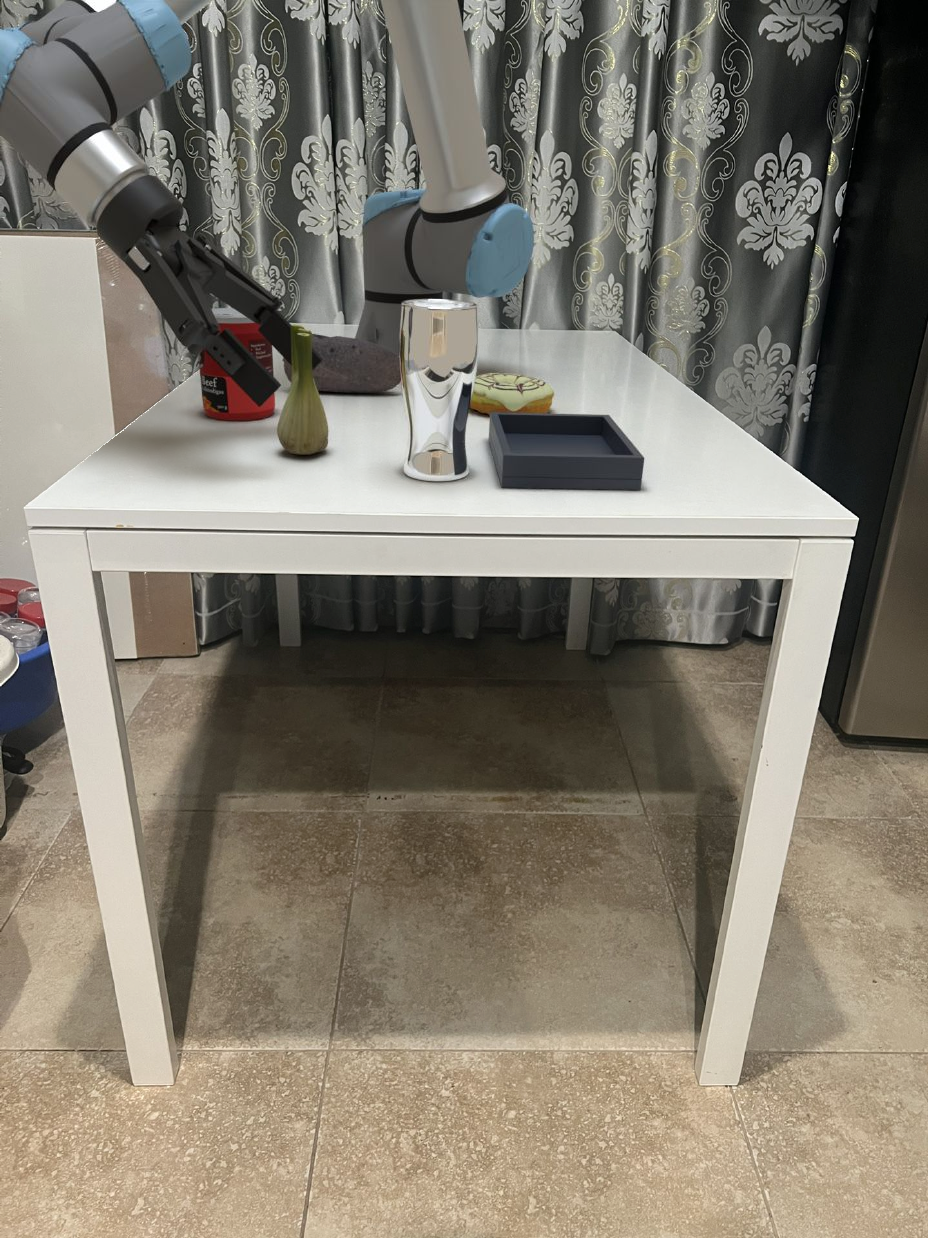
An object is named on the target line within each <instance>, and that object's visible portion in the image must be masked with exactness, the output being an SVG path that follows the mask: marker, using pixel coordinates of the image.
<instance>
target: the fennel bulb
mask: <svg viewBox="0 0 928 1238" xmlns="http://www.w3.org/2000/svg"><path fill="white" fill-rule="evenodd" d="M291 325H292V327H291V356H292V378H291V382H290V387H289V390H288V395H287V397H286V399H285V402H284V404H283V407H282V409H281V413H280V416H279V419H278V423H277V427H276V433H277V438H278V441H279V444H280V445H281V447H282V448H283V449H284V450H285V451H286V452H288V453H289V454H293V455H315V454H317V453H319V452H320V453H321V452H323V451H325V450H326V449H327V447H328V445H329V424H328V420H327V415H326V411H325V408H324V405H323V402H322V398H321V395H320V394H319V393H320V392H319V390H317V388H316V385H315V381H314V378H313V372H312V334H313V332H312V331H311V330H310V329H306V328H305V327H304V326H302V325H299V324H291Z"/></svg>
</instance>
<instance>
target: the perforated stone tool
mask: <svg viewBox="0 0 928 1238" xmlns="http://www.w3.org/2000/svg"><path fill="white" fill-rule="evenodd" d="M312 348H313V349H314V350H315V351H316V352H317V353H318V354H319V355H320V356H321V357H322V359H323V361H322V362H321V363H320V364H319V365H318V366H317V367H316V368H315V369H314V370H313V371H312V372H313V378H314V381H315V385H316V388H317V390H318V392H319V391H320V392H331V393H344V394H351V393H352V394H359V393H360V394H376V393H383V392H386V391H390V390H393V389H394V388H396V387H397V386H399V385H400V384H401V378H400V369H399V357H398V356H397V355H395V354H394V353H393V352H391V351H390V350H388V349H386V348H384V347H382V346H380V345H377V344H374V343H371V342H368V341H364V340H360V339H355V337H347V336H341V335H335V336H328V335H324V334H323V335H322V334H317V333H312ZM282 357H283V356H282ZM281 361H282V362H283V371H284V373H285V376H286V379H287V380H288V382H289V383H291V378H292V366H291V365H290V364H289V363H288V362H287V360H286V359H285V358H284V357H283V358H282V359H281Z"/></svg>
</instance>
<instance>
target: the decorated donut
mask: <svg viewBox="0 0 928 1238" xmlns="http://www.w3.org/2000/svg"><path fill="white" fill-rule="evenodd" d="M554 397H555V390H554V388H553V387H552V386H551V385H550V384H549V383H547V382H545V381H544V380H542V379H540V378H537V377H536V378H535V377H532V376H529V375H523V374H518V373H517V374H516V373H505V372H487V373H483V374H479V375H476V378H475V384H474V389H473V394H472V399H471V404H470V409H472V410H476V411H478V413H481V414H487V415H489V416H490V412H503V413H548V412H549V410H550V408H551V407H552V404H553V398H554Z"/></svg>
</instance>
